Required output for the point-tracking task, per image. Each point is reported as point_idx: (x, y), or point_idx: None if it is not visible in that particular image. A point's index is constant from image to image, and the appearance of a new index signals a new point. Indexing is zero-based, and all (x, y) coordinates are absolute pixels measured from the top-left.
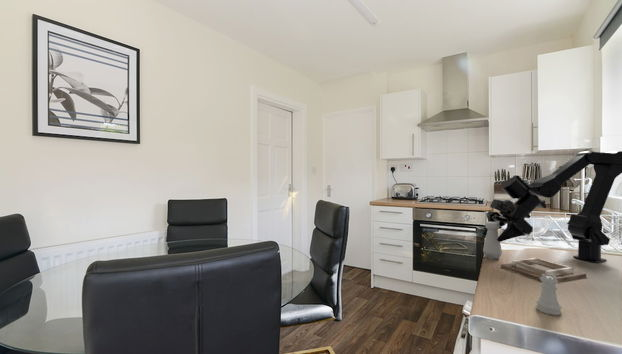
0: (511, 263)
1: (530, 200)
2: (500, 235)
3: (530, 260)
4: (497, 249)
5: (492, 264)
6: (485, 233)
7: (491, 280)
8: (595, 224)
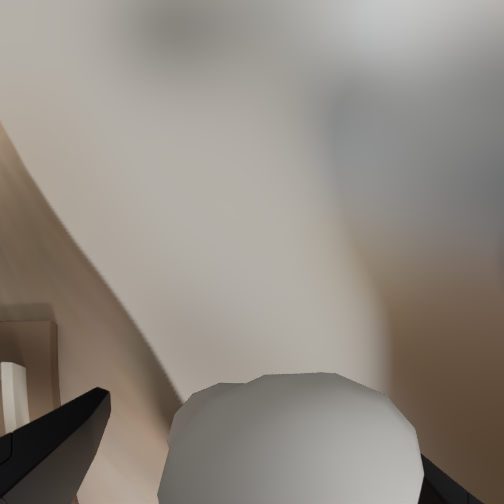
0: (48, 396)
1: None
2: (69, 416)
3: None
4: (172, 439)
5: (109, 328)
6: None
7: (4, 176)
8: None
